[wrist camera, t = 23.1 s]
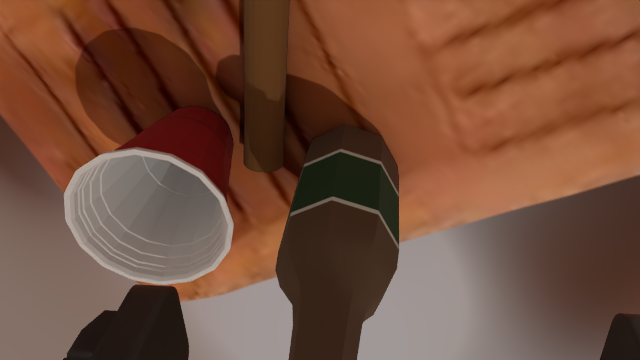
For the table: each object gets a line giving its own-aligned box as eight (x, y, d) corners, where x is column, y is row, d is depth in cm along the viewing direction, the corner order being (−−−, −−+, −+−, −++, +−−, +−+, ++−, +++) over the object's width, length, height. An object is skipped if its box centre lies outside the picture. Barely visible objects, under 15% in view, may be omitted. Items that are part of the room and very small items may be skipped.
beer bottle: (355, 220, 49) (324, 501, 29) (282, 167, 47) (195, 427, 27) (419, 162, 45) (437, 436, 25) (344, 101, 43) (296, 345, 23)
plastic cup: (242, 213, 50) (203, 312, 40) (123, 165, 49) (51, 254, 38) (287, 110, 44) (254, 195, 34) (153, 52, 43) (78, 122, 33)
